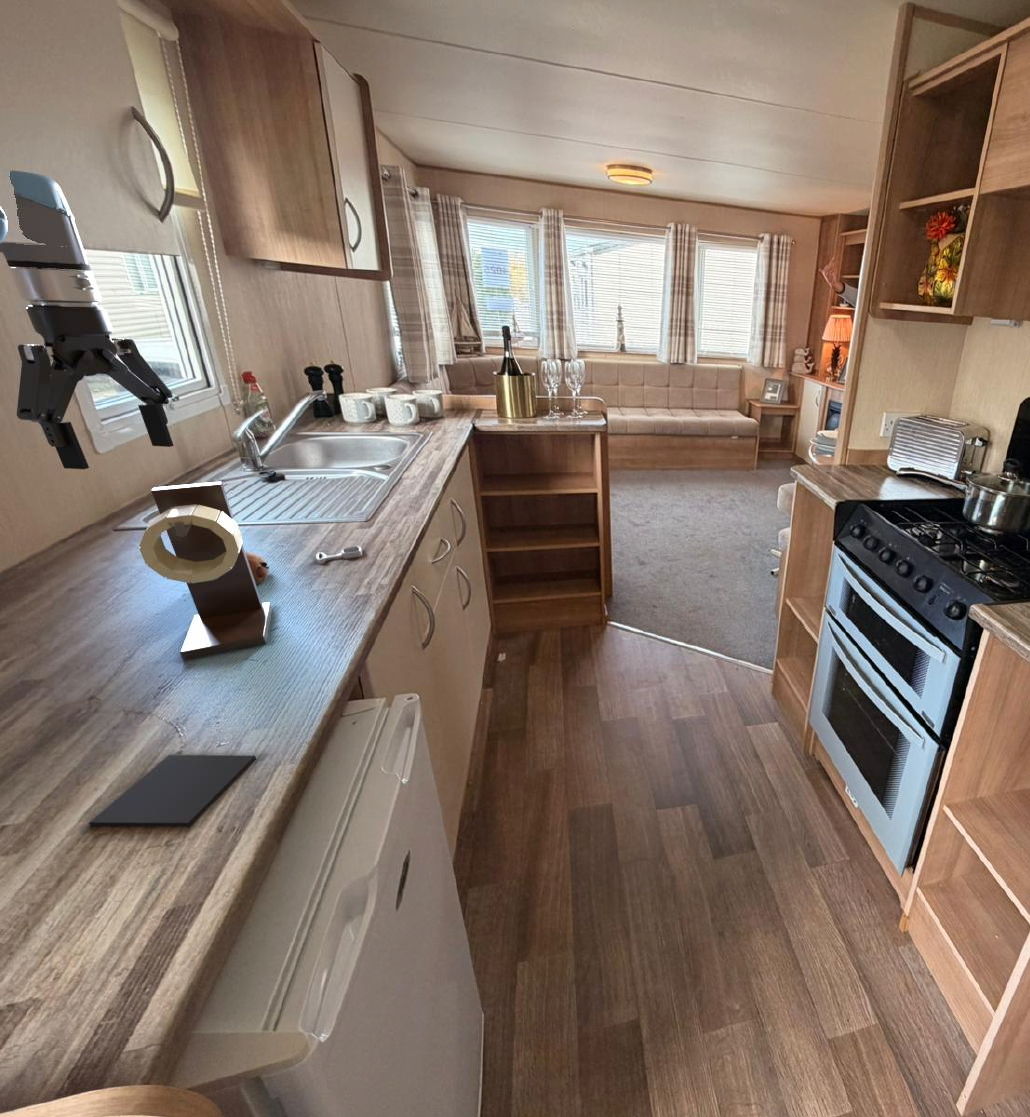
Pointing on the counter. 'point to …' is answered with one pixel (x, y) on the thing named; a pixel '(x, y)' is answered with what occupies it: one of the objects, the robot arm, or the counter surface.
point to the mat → (174, 791)
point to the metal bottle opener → (340, 554)
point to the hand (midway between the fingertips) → (123, 456)
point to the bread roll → (257, 567)
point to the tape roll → (187, 569)
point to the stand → (223, 602)
